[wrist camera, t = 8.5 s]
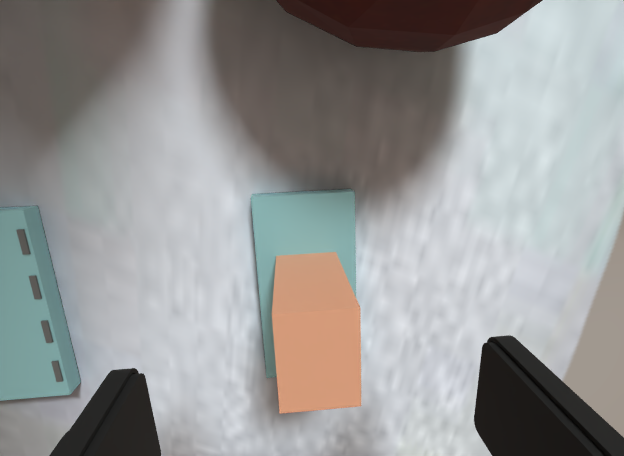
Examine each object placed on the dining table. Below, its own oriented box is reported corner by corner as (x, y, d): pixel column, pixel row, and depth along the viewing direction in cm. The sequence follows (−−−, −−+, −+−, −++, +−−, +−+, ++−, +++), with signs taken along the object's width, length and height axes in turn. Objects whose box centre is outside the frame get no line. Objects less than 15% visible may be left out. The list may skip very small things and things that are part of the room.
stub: (252, 194, 18) (232, 229, 11) (350, 188, 18) (390, 220, 11) (267, 366, 20) (258, 481, 14) (353, 359, 21) (386, 467, 14)
